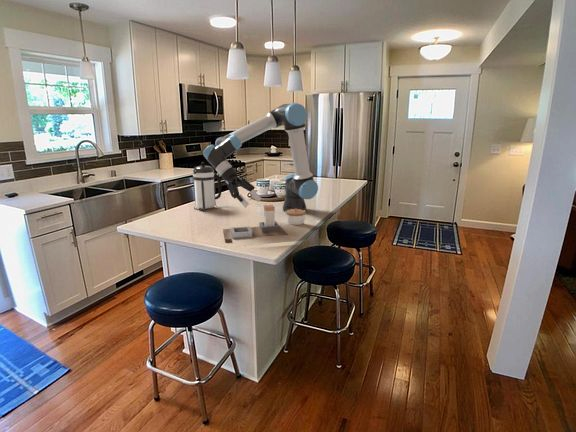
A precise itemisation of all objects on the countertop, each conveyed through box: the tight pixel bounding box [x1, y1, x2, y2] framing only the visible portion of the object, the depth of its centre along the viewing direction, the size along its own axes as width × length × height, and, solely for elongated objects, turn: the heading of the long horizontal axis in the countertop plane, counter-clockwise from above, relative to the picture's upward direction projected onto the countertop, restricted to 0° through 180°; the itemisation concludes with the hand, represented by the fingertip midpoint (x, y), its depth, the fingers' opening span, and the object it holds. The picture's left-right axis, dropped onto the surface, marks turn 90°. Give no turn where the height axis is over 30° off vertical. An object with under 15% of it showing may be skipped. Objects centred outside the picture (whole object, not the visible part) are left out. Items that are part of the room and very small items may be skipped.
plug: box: [263, 204, 276, 227], centre depth 169 cm, size 4×4×12 cm
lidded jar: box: [285, 208, 306, 226], centre depth 181 cm, size 11×11×9 cm
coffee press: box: [192, 161, 222, 212], centre depth 214 cm, size 17×16×30 cm
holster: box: [258, 220, 280, 232], centre depth 171 cm, size 9×9×2 cm
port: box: [229, 225, 253, 240], centre depth 161 cm, size 10×10×2 cm
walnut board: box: [222, 224, 288, 243], centre depth 166 cm, size 30×16×2 cm, turn 104°
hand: (253, 203), depth 170 cm, fingers open, 13 cm apart
